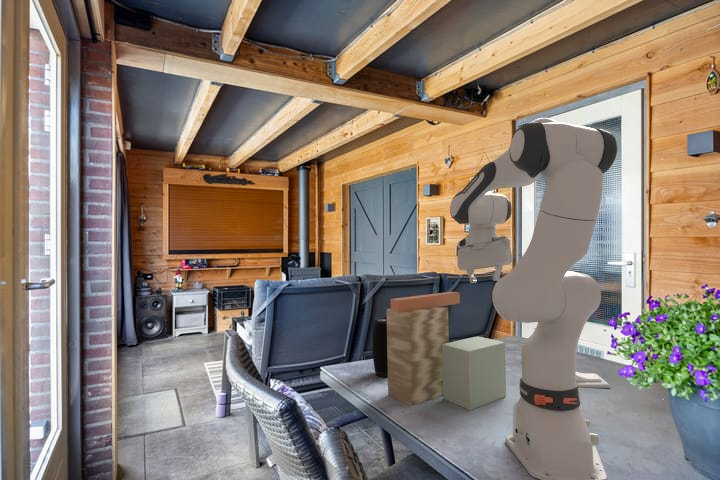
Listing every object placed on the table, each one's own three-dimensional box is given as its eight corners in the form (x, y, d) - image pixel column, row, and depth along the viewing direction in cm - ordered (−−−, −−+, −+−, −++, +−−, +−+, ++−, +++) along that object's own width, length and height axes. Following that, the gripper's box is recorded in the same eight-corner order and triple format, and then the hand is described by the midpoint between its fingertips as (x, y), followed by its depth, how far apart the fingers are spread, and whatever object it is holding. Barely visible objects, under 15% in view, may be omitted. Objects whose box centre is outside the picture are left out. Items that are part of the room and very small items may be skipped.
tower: (426, 383, 131) (425, 303, 131) (449, 392, 123) (448, 307, 123) (388, 394, 122) (386, 309, 122) (410, 405, 114) (408, 313, 114)
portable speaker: (400, 378, 137) (399, 320, 137) (373, 378, 137) (372, 321, 137) (398, 369, 146) (397, 315, 146) (372, 370, 146) (371, 316, 146)
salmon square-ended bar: (451, 302, 134) (451, 291, 134) (459, 303, 131) (459, 292, 131) (390, 310, 119) (390, 299, 119) (398, 312, 116) (398, 300, 116)
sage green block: (478, 386, 128) (477, 336, 128) (506, 396, 119) (505, 342, 119) (443, 398, 118) (442, 344, 119) (470, 409, 110) (468, 351, 110)
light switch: (555, 366, 138) (596, 366, 135) (556, 379, 138) (598, 378, 135) (565, 377, 127) (610, 376, 124) (566, 390, 127) (611, 390, 124)
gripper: (515, 235, 126) (518, 279, 123) (466, 245, 144) (468, 284, 141) (501, 232, 123) (504, 278, 120) (453, 243, 140) (455, 283, 137)
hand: (484, 281), depth 131 cm, fingers open, 8 cm apart
